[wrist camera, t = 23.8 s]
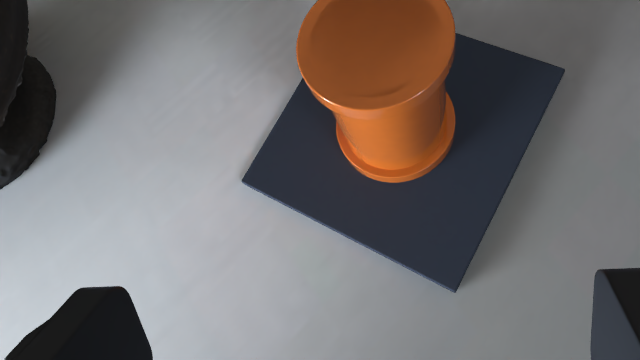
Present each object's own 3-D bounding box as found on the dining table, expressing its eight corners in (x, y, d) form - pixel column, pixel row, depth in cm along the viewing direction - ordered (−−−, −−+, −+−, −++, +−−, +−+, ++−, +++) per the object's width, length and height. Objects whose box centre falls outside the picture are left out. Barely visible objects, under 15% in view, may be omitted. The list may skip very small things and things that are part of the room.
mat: (563, 73, 26) (565, 68, 25) (455, 293, 24) (455, 292, 23) (351, 3, 30) (350, -3, 30) (244, 184, 28) (240, 181, 28)
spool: (450, 70, 27) (448, -41, 19) (460, 178, 25) (462, 100, 18) (338, 83, 28) (297, -16, 21) (339, 187, 26) (294, 118, 19)
